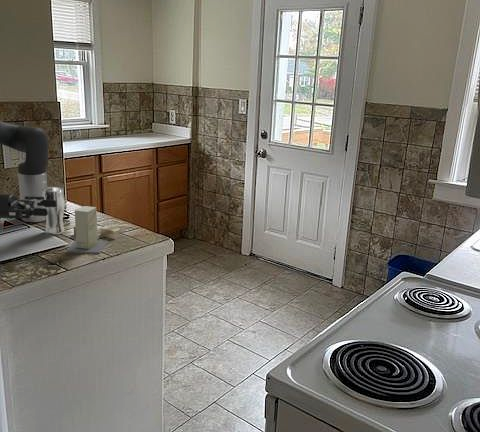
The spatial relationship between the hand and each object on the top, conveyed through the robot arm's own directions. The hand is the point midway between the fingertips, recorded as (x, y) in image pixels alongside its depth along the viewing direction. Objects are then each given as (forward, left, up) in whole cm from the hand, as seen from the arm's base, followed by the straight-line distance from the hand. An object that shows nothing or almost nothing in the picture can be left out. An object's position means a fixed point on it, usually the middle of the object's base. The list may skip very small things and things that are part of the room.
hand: (51, 207), depth 149 cm
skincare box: (0, +10, -12) cm, 16 cm away
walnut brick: (-10, +6, -13) cm, 17 cm away
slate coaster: (0, +10, -12) cm, 16 cm away
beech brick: (-11, +15, -13) cm, 23 cm away
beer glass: (-13, -4, -13) cm, 18 cm away
